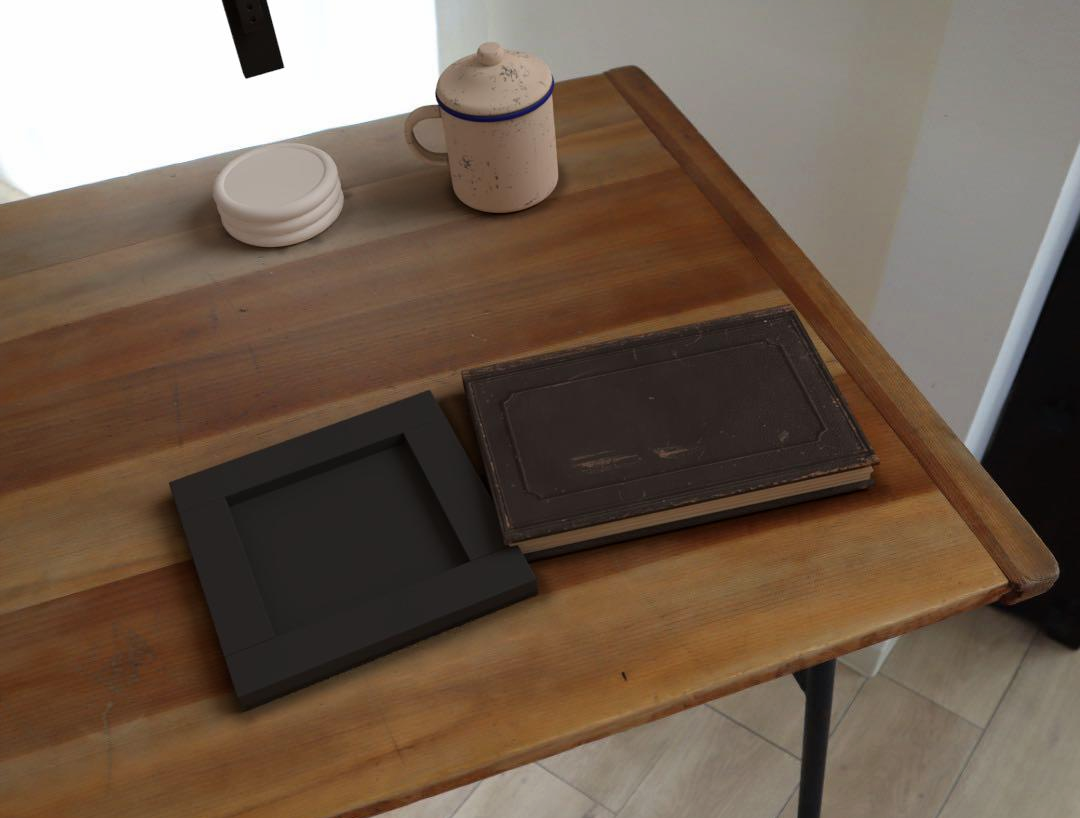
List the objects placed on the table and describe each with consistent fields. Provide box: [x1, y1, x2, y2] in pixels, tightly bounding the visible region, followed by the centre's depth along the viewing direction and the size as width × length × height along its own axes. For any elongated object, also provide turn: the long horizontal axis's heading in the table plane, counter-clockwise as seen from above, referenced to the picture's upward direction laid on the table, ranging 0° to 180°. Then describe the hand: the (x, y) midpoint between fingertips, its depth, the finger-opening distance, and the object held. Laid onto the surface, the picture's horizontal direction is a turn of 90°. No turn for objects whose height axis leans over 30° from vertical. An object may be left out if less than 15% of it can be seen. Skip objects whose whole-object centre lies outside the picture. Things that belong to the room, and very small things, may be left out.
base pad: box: [168, 389, 540, 712], centre depth 72 cm, size 18×18×2 cm
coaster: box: [212, 142, 345, 248], centre depth 95 cm, size 10×10×4 cm
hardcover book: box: [460, 303, 881, 562], centre depth 76 cm, size 16×23×2 cm
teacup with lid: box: [403, 41, 559, 214], centre depth 92 cm, size 12×9×12 cm
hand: (239, 28), depth 83 cm, fingers open, 13 cm apart
